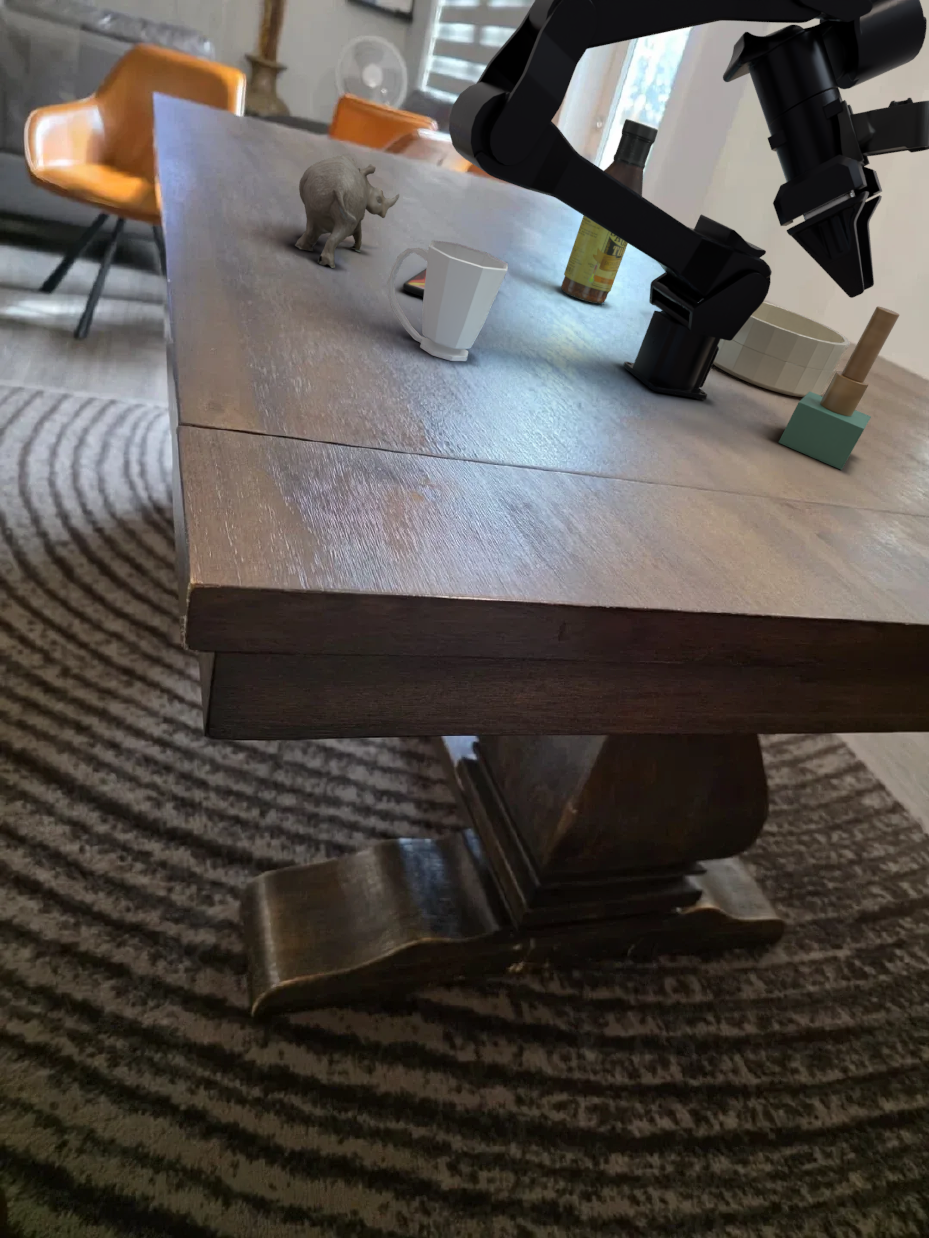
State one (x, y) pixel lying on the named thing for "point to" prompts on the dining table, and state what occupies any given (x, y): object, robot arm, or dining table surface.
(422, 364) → the dining table surface
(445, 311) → the cup
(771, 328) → the bowl
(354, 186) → the rhinoceros figurine
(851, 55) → the robot arm
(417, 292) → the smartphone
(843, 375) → the wooden peg
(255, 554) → the dining table surface
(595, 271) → the sauce bottle
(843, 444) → the stand
